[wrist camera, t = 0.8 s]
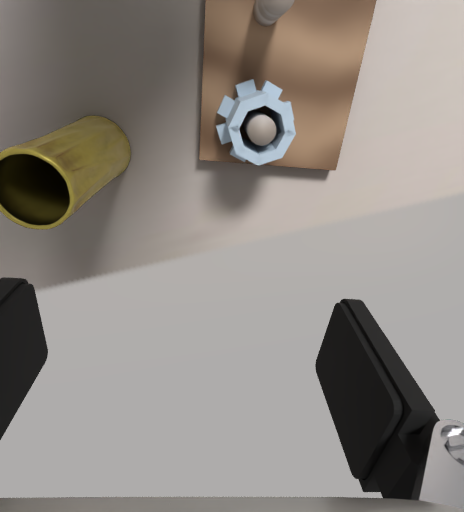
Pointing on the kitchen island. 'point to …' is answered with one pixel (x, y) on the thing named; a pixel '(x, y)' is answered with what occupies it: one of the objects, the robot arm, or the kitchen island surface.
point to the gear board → (284, 72)
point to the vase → (60, 171)
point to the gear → (236, 114)
